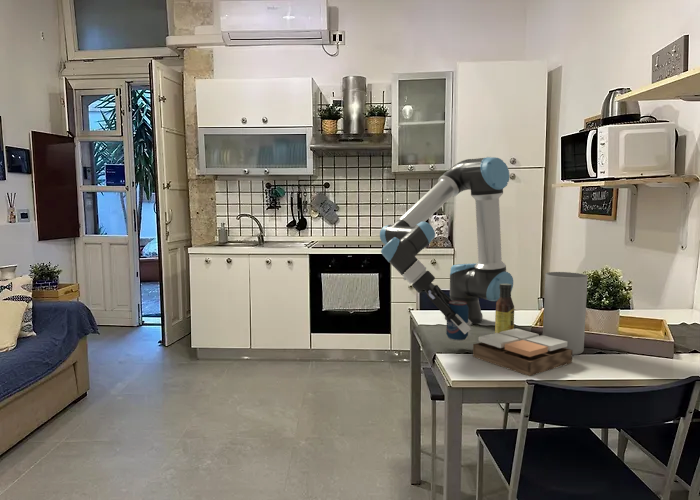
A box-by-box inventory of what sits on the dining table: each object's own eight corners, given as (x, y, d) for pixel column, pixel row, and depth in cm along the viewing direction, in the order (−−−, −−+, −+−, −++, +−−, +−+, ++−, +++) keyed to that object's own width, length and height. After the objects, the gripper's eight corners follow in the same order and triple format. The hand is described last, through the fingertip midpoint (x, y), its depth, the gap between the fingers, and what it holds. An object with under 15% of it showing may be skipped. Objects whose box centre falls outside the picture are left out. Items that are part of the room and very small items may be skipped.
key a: (516, 332, 165) (516, 328, 165) (538, 338, 158) (538, 334, 158) (499, 336, 160) (499, 332, 160) (521, 342, 153) (521, 338, 153)
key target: (522, 344, 151) (522, 340, 151) (547, 351, 144) (547, 346, 144) (504, 349, 147) (504, 344, 146) (529, 356, 140) (529, 351, 139)
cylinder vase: (586, 348, 165) (590, 274, 162) (579, 358, 155) (583, 279, 152) (547, 342, 172) (550, 270, 169) (537, 351, 162) (541, 275, 159)
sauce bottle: (514, 343, 170) (516, 286, 168) (495, 342, 172) (497, 285, 170) (512, 338, 177) (514, 283, 175) (493, 337, 178) (495, 282, 176)
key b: (496, 337, 159) (496, 332, 159) (518, 343, 153) (519, 338, 152) (478, 341, 155) (478, 336, 155) (500, 348, 148) (500, 343, 148)
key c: (542, 339, 157) (542, 335, 157) (567, 346, 150) (567, 341, 150) (525, 344, 152) (525, 339, 152) (550, 351, 145) (550, 346, 145)
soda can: (442, 338, 162) (443, 302, 161) (451, 334, 168) (451, 299, 167) (463, 342, 159) (464, 305, 157) (470, 337, 164) (471, 301, 163)
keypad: (514, 346, 167) (515, 334, 167) (571, 362, 150) (572, 350, 150) (472, 356, 156) (473, 344, 155) (529, 376, 139) (530, 362, 138)
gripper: (415, 279, 175) (461, 328, 173) (406, 290, 156) (458, 344, 154) (430, 265, 173) (477, 314, 171) (423, 274, 154) (476, 328, 152)
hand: (468, 328), depth 162 cm, fingers closed on soda can, 7 cm apart
